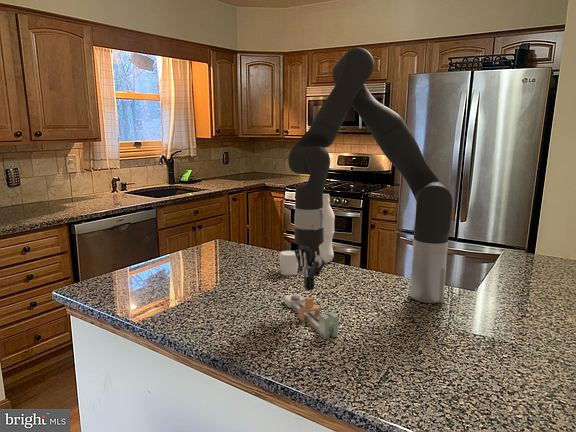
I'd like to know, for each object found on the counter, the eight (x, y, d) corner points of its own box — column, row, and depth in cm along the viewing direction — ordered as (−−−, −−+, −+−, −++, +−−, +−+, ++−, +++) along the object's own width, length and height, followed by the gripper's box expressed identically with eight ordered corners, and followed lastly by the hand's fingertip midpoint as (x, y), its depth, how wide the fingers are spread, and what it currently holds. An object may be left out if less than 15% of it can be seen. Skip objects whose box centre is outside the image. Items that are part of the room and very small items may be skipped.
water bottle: (311, 262, 155) (312, 195, 151) (317, 257, 162) (318, 192, 157) (330, 265, 153) (332, 196, 148) (335, 259, 159) (337, 193, 154)
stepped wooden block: (298, 318, 109) (299, 299, 108) (316, 314, 111) (317, 296, 110) (302, 321, 107) (302, 301, 106) (320, 318, 109) (320, 298, 108)
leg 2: (299, 306, 116) (299, 289, 115) (304, 306, 117) (304, 288, 116) (332, 337, 99) (333, 317, 98) (337, 336, 99) (338, 316, 98)
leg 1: (291, 308, 115) (291, 290, 114) (295, 307, 116) (295, 290, 115) (324, 339, 98) (325, 318, 97) (329, 338, 99) (330, 317, 98)
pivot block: (283, 302, 119) (283, 294, 119) (298, 300, 121) (298, 292, 120) (289, 308, 115) (289, 299, 115) (304, 305, 117) (304, 297, 117)
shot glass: (297, 276, 141) (297, 256, 139) (276, 275, 142) (276, 255, 141) (300, 270, 147) (300, 250, 146) (281, 268, 148) (281, 249, 147)
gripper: (285, 221, 113) (286, 283, 117) (307, 231, 102) (307, 300, 105) (310, 219, 116) (310, 279, 120) (334, 228, 105) (334, 295, 108)
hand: (309, 289), depth 112 cm, fingers closed
